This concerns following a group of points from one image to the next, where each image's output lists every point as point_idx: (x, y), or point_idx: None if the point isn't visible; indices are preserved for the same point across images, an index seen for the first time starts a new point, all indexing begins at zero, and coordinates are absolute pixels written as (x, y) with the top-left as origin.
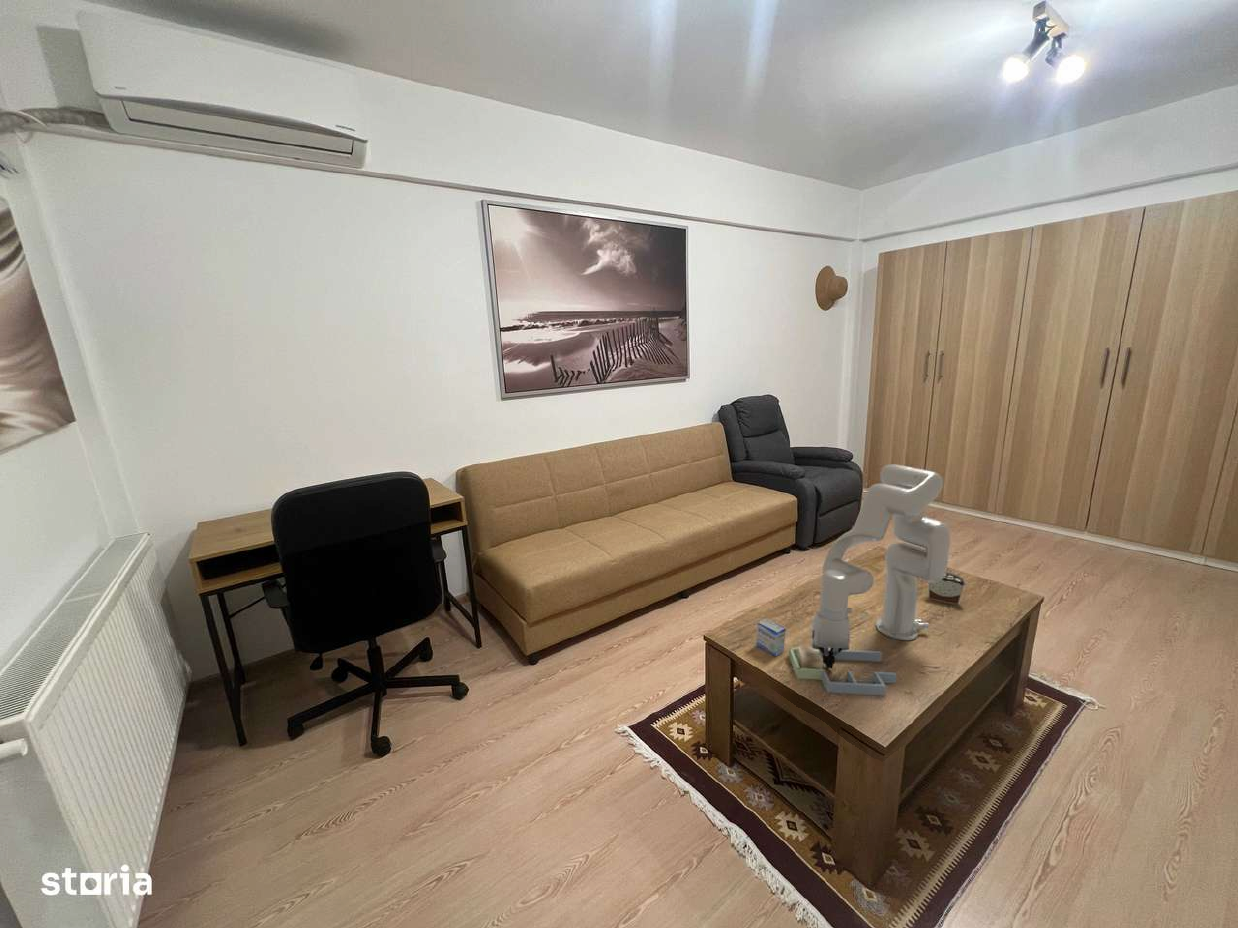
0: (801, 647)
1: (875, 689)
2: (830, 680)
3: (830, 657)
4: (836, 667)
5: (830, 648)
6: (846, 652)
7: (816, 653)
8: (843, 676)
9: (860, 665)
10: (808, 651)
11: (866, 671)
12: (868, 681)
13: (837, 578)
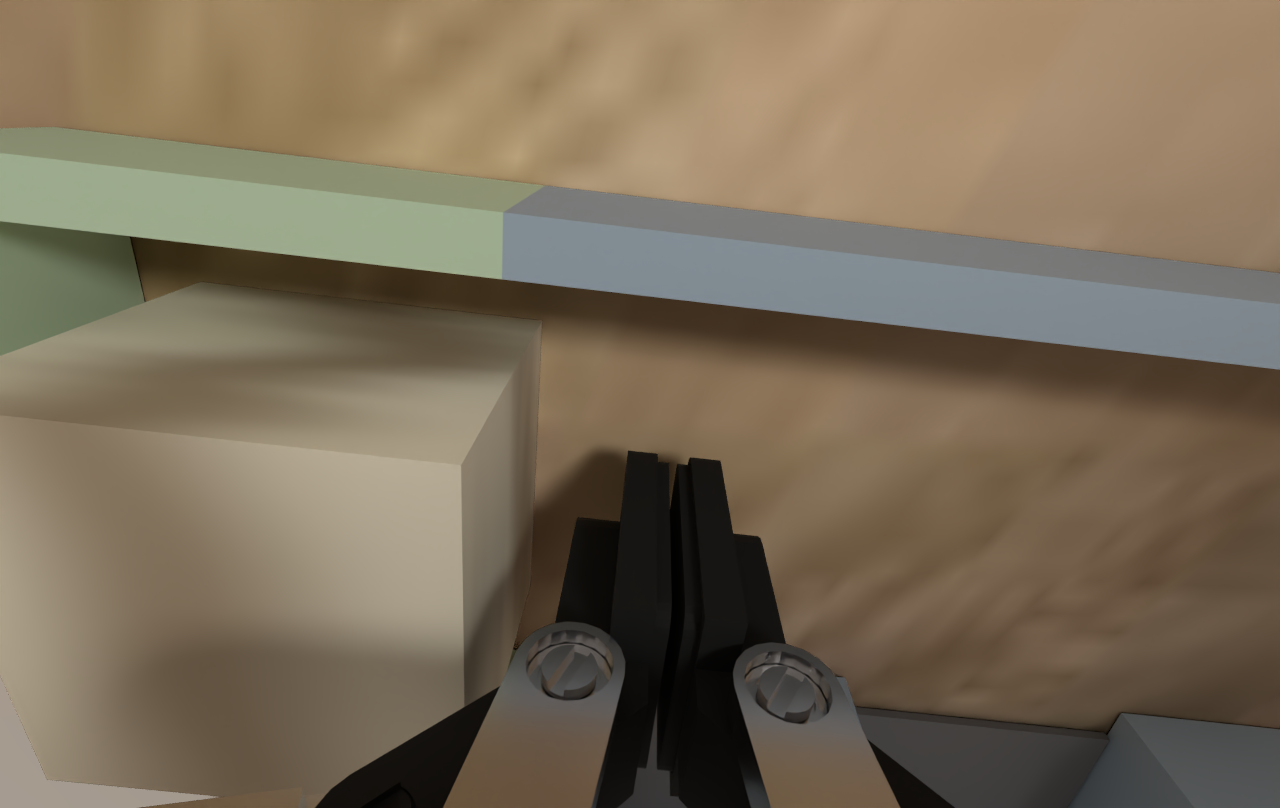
0: (1, 440)
1: None
2: None
3: (659, 735)
4: (805, 474)
5: (741, 725)
6: (1218, 357)
7: (374, 665)
8: (796, 637)
9: (1222, 448)
10: (188, 601)
11: (1189, 570)
12: (1044, 735)
13: None
